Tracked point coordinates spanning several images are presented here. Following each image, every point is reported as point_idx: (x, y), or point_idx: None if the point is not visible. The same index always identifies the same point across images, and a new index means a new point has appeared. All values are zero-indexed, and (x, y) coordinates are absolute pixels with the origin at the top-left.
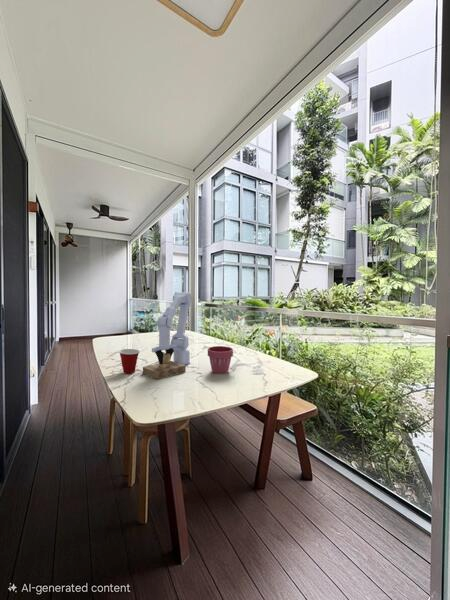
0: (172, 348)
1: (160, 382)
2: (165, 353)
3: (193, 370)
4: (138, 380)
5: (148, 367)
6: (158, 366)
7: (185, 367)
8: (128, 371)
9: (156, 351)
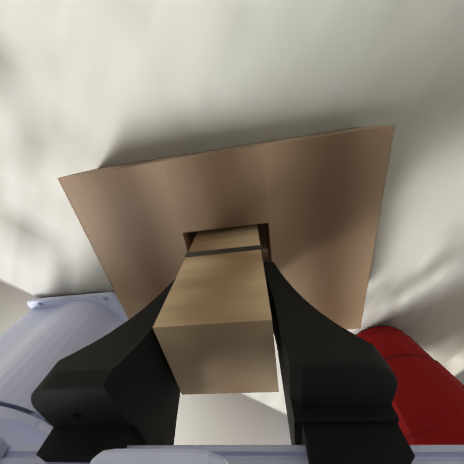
0: (42, 448)
1: (390, 20)
2: (198, 378)
3: (31, 163)
4: (456, 193)
5: (341, 300)
6: None
7: (73, 174)
8: (408, 338)
9: (424, 445)
